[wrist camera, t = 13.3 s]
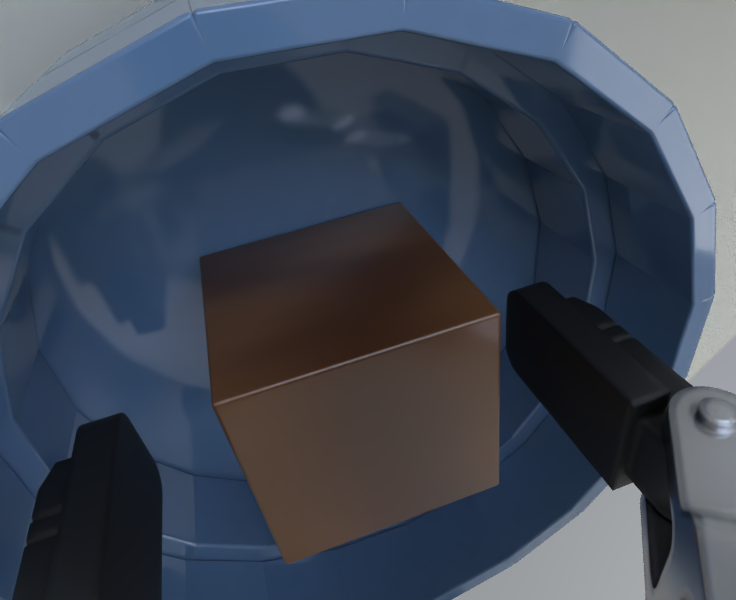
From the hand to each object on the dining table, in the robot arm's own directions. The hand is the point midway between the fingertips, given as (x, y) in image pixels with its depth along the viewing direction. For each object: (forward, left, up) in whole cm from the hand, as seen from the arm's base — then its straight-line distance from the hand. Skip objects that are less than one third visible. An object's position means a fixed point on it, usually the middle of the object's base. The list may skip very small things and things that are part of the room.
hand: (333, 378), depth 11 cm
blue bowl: (0, 0, -3) cm, 3 cm away
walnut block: (0, 0, -2) cm, 2 cm away
